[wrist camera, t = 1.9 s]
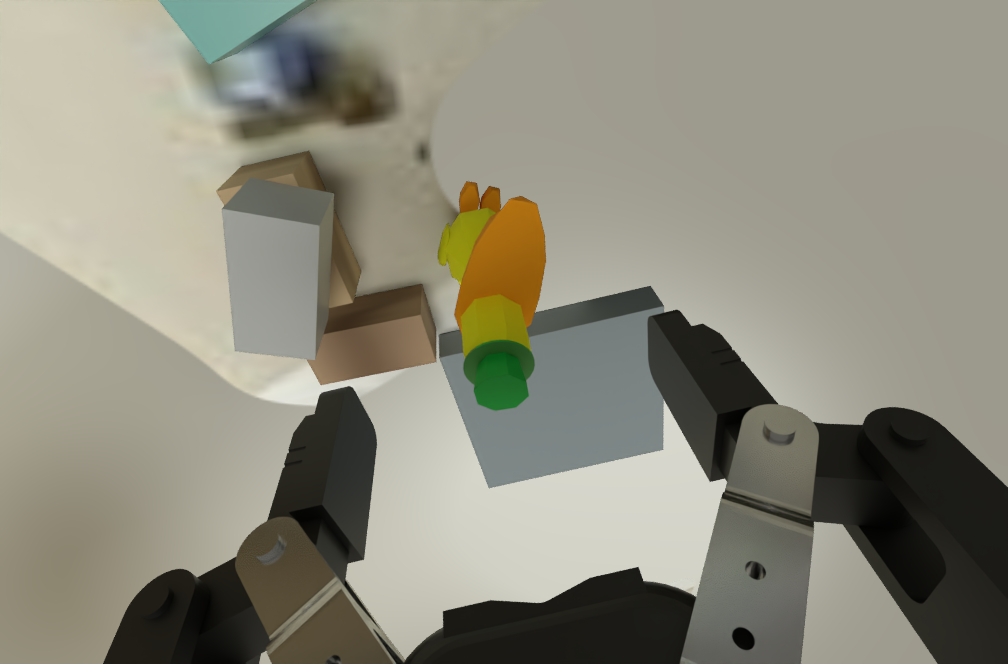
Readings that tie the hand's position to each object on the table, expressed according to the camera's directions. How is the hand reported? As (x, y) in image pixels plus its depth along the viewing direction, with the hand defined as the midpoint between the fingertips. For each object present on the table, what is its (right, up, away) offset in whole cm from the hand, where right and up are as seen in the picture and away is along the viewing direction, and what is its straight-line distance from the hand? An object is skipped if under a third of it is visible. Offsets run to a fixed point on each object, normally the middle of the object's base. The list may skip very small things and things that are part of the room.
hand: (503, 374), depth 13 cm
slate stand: (+3, -2, +17) cm, 18 cm away
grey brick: (-9, +4, +7) cm, 12 cm away
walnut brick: (-7, +2, +13) cm, 15 cm away
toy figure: (-1, +7, +10) cm, 12 cm away
